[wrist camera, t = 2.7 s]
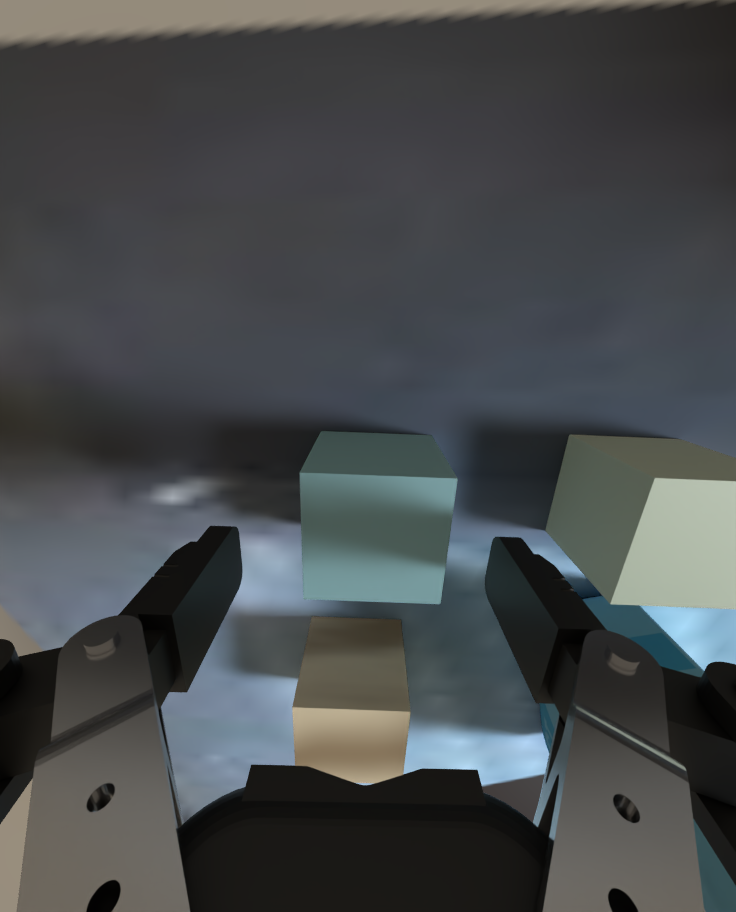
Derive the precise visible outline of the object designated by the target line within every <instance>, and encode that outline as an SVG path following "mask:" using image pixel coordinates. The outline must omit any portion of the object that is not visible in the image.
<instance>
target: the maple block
mask: <svg viewBox="0 0 736 912" xmlns="http://www.w3.org/2000/svg"><path fill="white" fill-rule="evenodd" d="M292 709H293V729H294V748H295V766H309V767H312V768H314V769H317V770H320V771H323V772H326V773H328V774H331V775H334V776H337V777H340V778H342V779H345V780H348V781H351V782H355V783H378V782H381V781H385V780H388V779H391V778H394V777H397V776H401V775H403V771H404V762H405V754H406V746H407V738H408V729H409V721H410V713H411V711H410V701H409V691H408V682H407V672H406V662H405V653H404V643H403V633H402V624H401V620H397V619H371V618H345V617H319V616H312V617H311V622H310V627H309V631H308V636H307V641H306V646H305V650H304V655H303V660H302V664H301V669H300V674H299V679H298V683H297V688H296V693H295V698H294V702H293V707H292Z"/></svg>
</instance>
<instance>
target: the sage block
mask: <svg viewBox="0 0 736 912" xmlns="http://www.w3.org/2000/svg"><path fill="white" fill-rule="evenodd" d="M545 531H546V532H547V533H548V534H549V536H550V537H551V538H552V539H553V540H554V541H555V542H556V543H557V545H558V546H559V547H560V548H561V549H562V550H563V551H564V552H565V554H566V555H567V556H568V557H569V558H570V559H571V560H572V562H573V563H574V564H575V565H576V566H577V567H578V568H579V569H580V571H581V572H582V573H583V574H584V575H585V576H586V577H587V579H588V580H589V581H590V582H591V583H592V584H593V585H594V586H595V588H596V589H597V590H598V591H599V592H600V593H601V594H602V595H603V597H604V598H605V599H606V600H607V601H608V602H609V603H610V604H617V605H642V606H667V607H693V608H718V609H736V458H734V457H731V456H728V455H725V454H722V453H719V452H716V451H713V450H710V449H707V448H704V447H701V446H698V445H696V444H693V443H690V442H687V441H684V440H681V439H665V438H641V437H617V436H593V435H569V438H568V442H567V446H566V450H565V454H564V458H563V462H562V466H561V470H560V474H559V478H558V482H557V486H556V490H555V494H554V498H553V502H552V506H551V510H550V514H549V518H548V522H547V526H546V530H545Z"/></svg>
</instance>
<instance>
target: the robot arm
mask: <svg viewBox="0 0 736 912" xmlns="http://www.w3.org/2000/svg"><path fill="white" fill-rule="evenodd" d="M241 579H242V559H241V549H240V539H239V531H238V528H237V527H231V526H210V527H209V528H208V529H207V530H206V531H205V533H204V534H203V535H202V536H201V537H200V539H199V540H198V541H197V542H189V543H188V544H186V545H184V546H183V547H181V548H180V549H178V550H176V551H175V552H174V553H173V554H172V555H171V556H170V557H169V559H168V560H167V561H166V562H165V563H164V566H161V568H160V569H159V570H158V571H157V572H156V573H155V576H154V577H152V578H151V579H150V580H149V581H148V582H147V583H146V585H145V586H144V587H143V588H142V589H141V590H140V591H139V592H138V594H137V595H136V596H135V597H134V598H133V599H132V600H131V601H130V603H129V604H128V605H127V606H126V607H125V608H124V609H123V611H122V612H121V613H120V614H119V615H118V616H112V617H108V618H105V619H101V620H99V621H96V622H94V623H92V624H90V625H88V626H87V627H85V628H83V629H82V630H80V631H79V632H77V633H76V634H75V635H74V636H72V637H71V638H70V639H69V640H68V641H67V642H66V643H65V645H64V646H63V647H61V648H56V649H52V650H47V651H42V652H38V653H33V654H29V655H24V656H20V657H18V655H17V652H16V650H15V647H14V645H13V644H12V643H11V642H10V641H8V640H4V639H0V824H1V822H2V821H3V819H4V818H5V817H6V815H7V814H8V812H9V811H10V809H11V808H12V806H13V805H14V804H15V802H16V801H17V799H18V798H19V797H20V795H21V794H22V792H23V791H24V789H25V788H26V787H27V785H28V784H29V782H30V781H31V779H32V778H33V782H32V790H31V798H30V806H29V815H28V823H27V831H26V840H25V847H24V856H23V864H22V872H21V881H20V888H19V898H18V905H17V912H704V904H703V896H702V888H701V879H700V871H699V863H698V855H697V846H696V838H695V830H694V821H693V819H694V820H695V822H696V824H697V825H698V827H699V828H700V830H701V832H702V833H703V835H704V836H705V838H706V839H707V841H708V843H709V844H710V846H711V847H712V849H713V851H714V852H715V854H716V855H717V857H718V858H719V860H720V862H721V863H722V865H723V866H724V868H725V870H726V871H727V873H728V874H729V876H730V878H731V879H732V881H733V882H734V884H735V885H736V665H735V664H731V663H726V662H713V663H710V664H708V666H707V667H706V669H705V671H704V673H703V675H702V677H697V676H694V675H690V674H687V673H683V672H680V671H676V670H673V669H669V668H666V667H662V666H660V665H659V664H658V662H657V661H656V660H655V658H654V657H653V656H652V655H651V654H650V653H649V652H648V651H647V650H645V649H644V648H643V647H642V646H640V645H639V644H637V643H636V642H634V641H633V640H631V639H629V638H627V637H625V636H623V635H620V634H618V633H615V632H611V631H607V629H606V628H605V627H604V626H603V625H602V623H601V622H600V621H599V620H598V618H597V617H596V616H595V615H594V613H593V612H592V611H591V610H590V609H589V607H588V606H587V605H586V604H585V602H584V601H583V600H582V599H581V597H580V596H579V595H578V594H577V593H576V592H574V589H573V588H572V586H571V585H570V584H569V583H568V582H567V581H565V578H564V577H563V575H562V574H561V573H560V572H559V570H558V569H557V568H556V567H555V566H554V565H553V564H552V563H550V562H549V561H547V560H546V559H545V558H543V557H542V556H540V555H538V554H533V552H532V551H531V550H530V548H529V547H528V546H527V544H526V543H525V542H524V540H523V539H521V538H518V537H495V538H494V539H493V541H492V545H491V550H490V556H489V561H488V566H487V571H486V576H485V589H486V594H487V598H488V600H489V602H490V604H491V607H492V609H493V611H494V613H495V615H496V617H497V620H498V622H499V624H500V626H501V628H502V630H503V633H504V635H505V637H506V639H507V641H508V644H509V646H510V648H511V650H512V652H513V654H514V657H515V659H516V661H517V663H518V665H519V667H520V670H521V672H522V674H523V676H524V678H525V681H526V683H527V685H528V687H529V689H530V691H531V694H532V696H533V698H534V700H535V702H536V703H544V704H555V706H556V708H557V710H558V712H559V715H558V718H557V721H556V725H555V730H554V734H553V739H552V744H551V748H550V753H549V758H548V762H547V767H546V772H545V776H544V781H543V786H542V791H541V795H540V800H539V803H538V807H537V810H536V814H535V817H534V821H533V823H532V822H531V821H530V820H529V819H527V818H526V817H525V816H524V815H522V814H521V813H520V812H518V811H517V810H515V809H514V808H512V807H511V806H509V805H508V804H506V803H505V802H503V801H501V800H499V799H497V798H495V797H493V796H491V795H488V794H485V793H483V790H482V786H481V782H480V778H479V774H478V770H460V769H420V770H416V771H413V772H410V773H407V774H404V775H401V776H397V777H394V778H391V779H388V780H385V781H381V782H378V783H375V784H372V785H359V784H356V783H353V782H351V781H348V780H345V779H342V778H340V777H337V776H334V775H331V774H328V773H326V772H323V771H320V770H317V769H314V768H312V767H309V766H285V765H251V768H250V772H249V776H248V779H247V783H246V787H244V788H241V789H237V790H235V791H233V792H231V793H228V794H226V795H224V796H222V797H220V798H218V799H217V800H215V801H213V802H212V803H210V804H208V805H207V806H205V807H204V808H203V809H201V810H200V811H198V812H197V813H196V814H194V815H193V816H192V817H190V818H189V819H188V820H187V821H186V822H185V823H184V822H183V817H182V812H181V807H180V803H179V798H178V793H177V788H176V783H175V778H174V772H173V767H172V762H171V756H170V751H169V746H168V741H167V735H166V730H165V725H164V719H163V714H162V709H161V706H162V704H163V702H164V700H165V698H166V697H167V695H168V693H169V692H187V691H188V689H189V687H190V685H191V683H192V681H193V679H194V677H195V675H196V673H197V671H198V669H199V667H200V665H201V663H202V661H203V659H204V657H205V655H206V653H207V651H208V649H209V647H210V645H211V643H212V641H213V639H214V637H215V635H216V633H217V631H218V629H219V627H220V625H221V623H222V621H223V619H224V617H225V615H226V613H227V611H228V609H229V607H230V605H231V603H232V601H233V599H234V597H235V595H236V593H237V591H238V589H239V587H240V584H241Z"/></svg>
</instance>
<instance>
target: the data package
mask: <svg viewBox="0 0 736 912" xmlns="http://www.w3.org/2000/svg"><path fill="white" fill-rule="evenodd" d="M582 600H583V601H584V602H585V604H586V605H587V606H588V607H589V609H590V610H591V611H592V612H593V613H594V615H595V616H596V617H597V618H598V620H599V621H600V622H601V623H602V625H603V626H604V627H605V628H606V629H607V631H611V632H615V633H618V634H620V635H623V636H625V637H627V638H629V639H631V640H633V641H634V642H636V643H637V644H639V645H640V646H642V647H643V648H644V649H645V650H647V651H648V652H649V653H650V654H651V655H652V656H653V657H654V658H655V660H656V661H657V662H658V664H659V665H660V666H662V667H666V668H669V669H673V670H676V671H680V672H683V673H687V674H690V675H694V676H697V677H702V675H703V673H704V670H703V669H702V668H701V667H700V666H699V665H698V664H697V663H696V662H695V661H694V660H693V659H692V658H691V657H690V656H689V655H688V654H687V653H686V652H685V651H684V650H683V649H682V648H681V647H680V646H679V645H678V644H677V643H676V642H675V641H674V640H673V639H672V638H671V637H670V636H669V635H668V634H667V633H666V632H665V631H664V630H663V629H662V628H661V627H660V626H659V625H658V624H657V623H656V622H655V621H654V620H653V619H652V618H651V617H650V616H649V615H648V614H647V613H646V612H645V611H644V610H643V609H642V608H641V607H640V606H639V605H617V604H610V603H609V602H608V601H607V600H606V599H605V598H604V597H603V596H598V597H592V598H586V599H582ZM540 714H541V725H542V731H543V735H544V738H545V742H546V745H547V748H548V751H549V753H550V748H551V744H552V739H553V734H554V730H555V725H556V721H557V718H558V715H559V712H558V710H557V708H556V706H555V704H544V703H540ZM693 821H694V830H695V838H696V846H697V855H698V863H699V871H700V879H701V888H702V896H703V904H704V912H736V885H735V884H734V882H733V881H732V879H731V878H730V876H729V874H728V873H727V871H726V870H725V868H724V866H723V865H722V863H721V862H720V860H719V858H718V857H717V855H716V854H715V852H714V851H713V849H712V847H711V846H710V844H709V843H708V841H707V839H706V838H705V836H704V835H703V833H702V832H701V830H700V828H699V827H698V825H697V824H696V822H695V820H694V819H693Z"/></svg>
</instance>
